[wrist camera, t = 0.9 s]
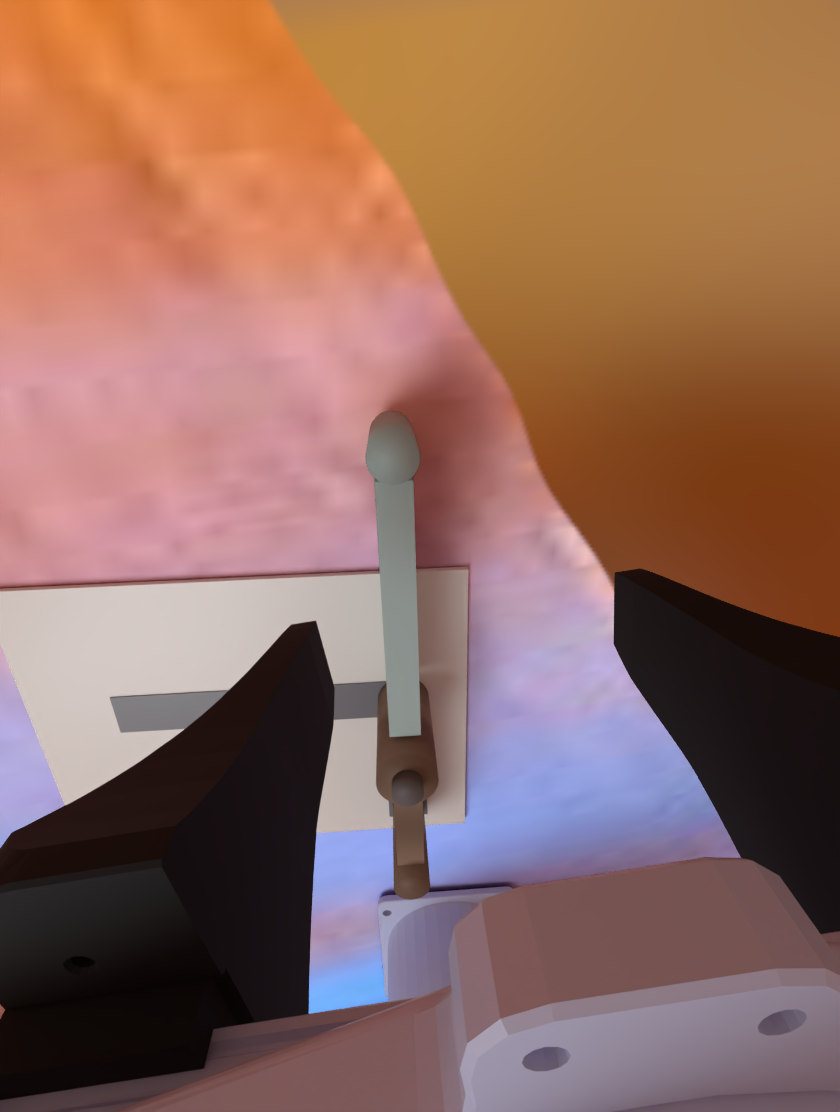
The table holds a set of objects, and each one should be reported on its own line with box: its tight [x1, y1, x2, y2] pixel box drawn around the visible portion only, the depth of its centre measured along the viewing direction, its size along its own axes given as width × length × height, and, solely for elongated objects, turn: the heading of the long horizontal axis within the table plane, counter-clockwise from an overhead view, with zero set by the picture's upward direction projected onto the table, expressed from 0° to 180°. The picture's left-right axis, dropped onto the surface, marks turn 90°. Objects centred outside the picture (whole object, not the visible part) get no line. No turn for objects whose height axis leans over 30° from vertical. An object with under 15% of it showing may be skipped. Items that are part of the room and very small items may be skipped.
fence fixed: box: [376, 681, 439, 900], centre depth 23 cm, size 9×2×6 cm, turn 1°
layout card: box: [0, 567, 468, 833], centre depth 25 cm, size 15×20×1 cm
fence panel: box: [366, 411, 421, 737], centre depth 19 cm, size 12×2×4 cm, turn 1°
